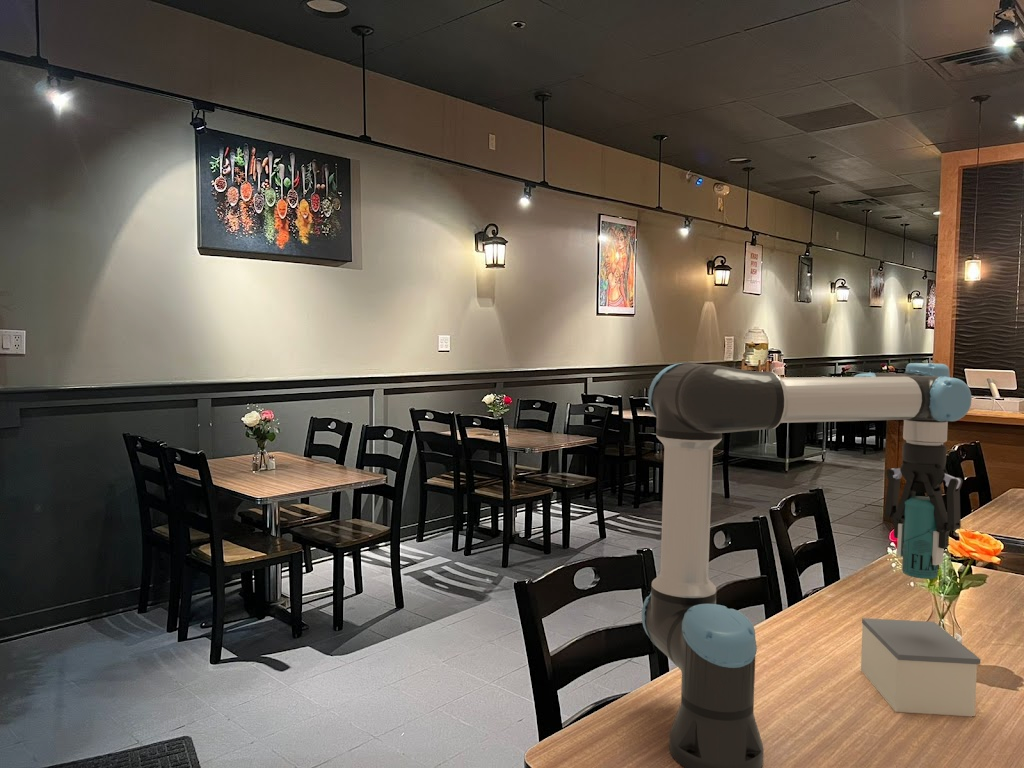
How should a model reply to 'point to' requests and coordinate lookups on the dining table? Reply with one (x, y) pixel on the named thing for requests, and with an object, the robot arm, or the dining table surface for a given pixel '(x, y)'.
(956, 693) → the box
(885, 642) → the lid
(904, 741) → the dining table surface
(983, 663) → the dining table surface
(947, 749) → the dining table surface
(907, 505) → the beverage bottle
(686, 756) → the robot arm
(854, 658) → the dining table surface
